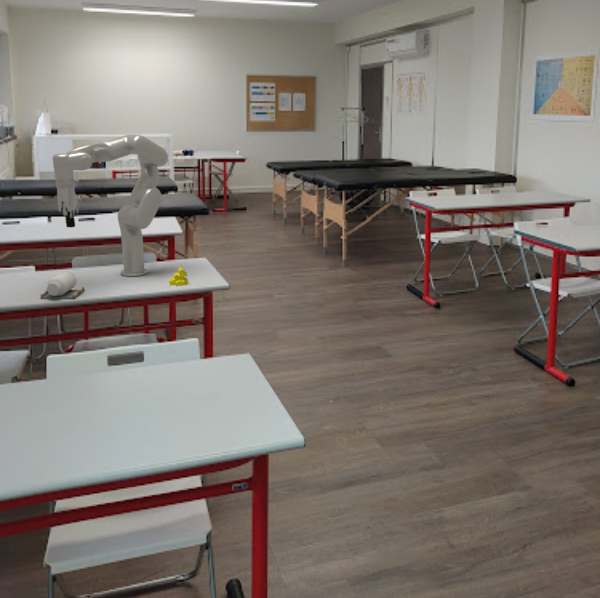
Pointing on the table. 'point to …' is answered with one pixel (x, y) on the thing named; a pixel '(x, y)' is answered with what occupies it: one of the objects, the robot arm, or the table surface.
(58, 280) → the pill bottle
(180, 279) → the yellow lumpy pyramid
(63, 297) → the grey tray
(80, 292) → the rails
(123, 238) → the robot arm
